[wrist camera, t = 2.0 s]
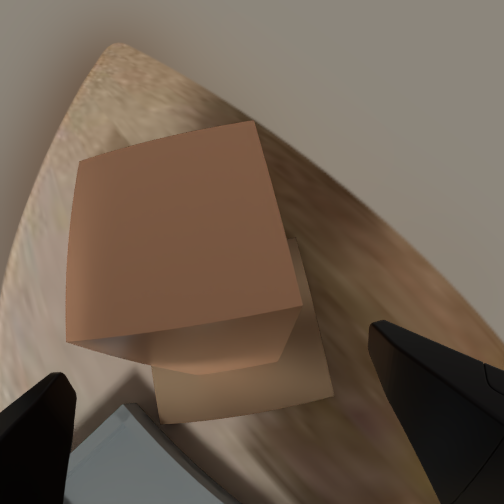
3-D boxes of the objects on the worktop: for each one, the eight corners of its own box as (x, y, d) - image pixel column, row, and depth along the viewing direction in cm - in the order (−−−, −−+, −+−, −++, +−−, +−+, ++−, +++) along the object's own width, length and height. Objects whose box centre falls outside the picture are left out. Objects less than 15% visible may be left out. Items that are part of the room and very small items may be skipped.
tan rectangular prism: (277, 361, 17) (302, 305, 5) (197, 375, 17) (66, 341, 5) (256, 258, 20) (242, 80, 8) (183, 271, 20) (89, 117, 8)
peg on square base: (331, 395, 17) (350, 397, 13) (164, 423, 17) (136, 431, 12) (294, 242, 21) (301, 206, 17) (146, 270, 21) (119, 241, 16)
